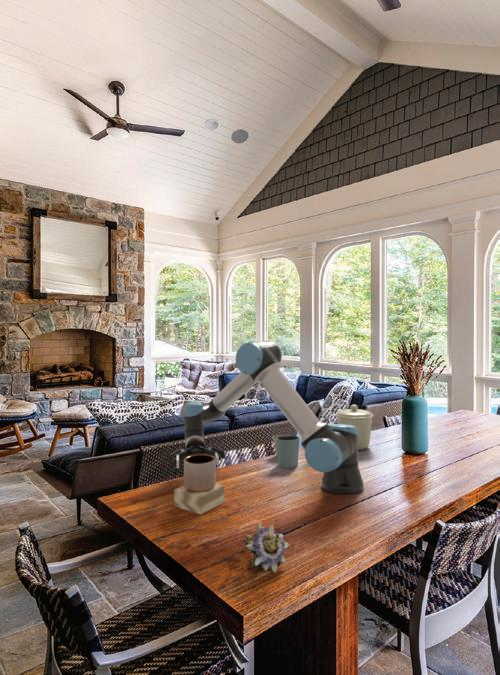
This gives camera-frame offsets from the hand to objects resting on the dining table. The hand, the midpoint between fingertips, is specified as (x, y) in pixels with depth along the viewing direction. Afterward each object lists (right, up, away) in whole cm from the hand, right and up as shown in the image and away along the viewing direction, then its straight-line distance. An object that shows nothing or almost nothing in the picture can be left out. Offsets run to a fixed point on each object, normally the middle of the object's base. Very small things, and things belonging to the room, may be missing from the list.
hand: (197, 462), depth 151 cm
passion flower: (+22, -14, -40) cm, 48 cm away
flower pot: (+33, -12, +55) cm, 65 cm away
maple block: (+1, -14, -1) cm, 14 cm away
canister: (+69, -11, +66) cm, 96 cm away
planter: (+1, -8, 0) cm, 8 cm away
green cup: (+34, -13, +40) cm, 54 cm away
